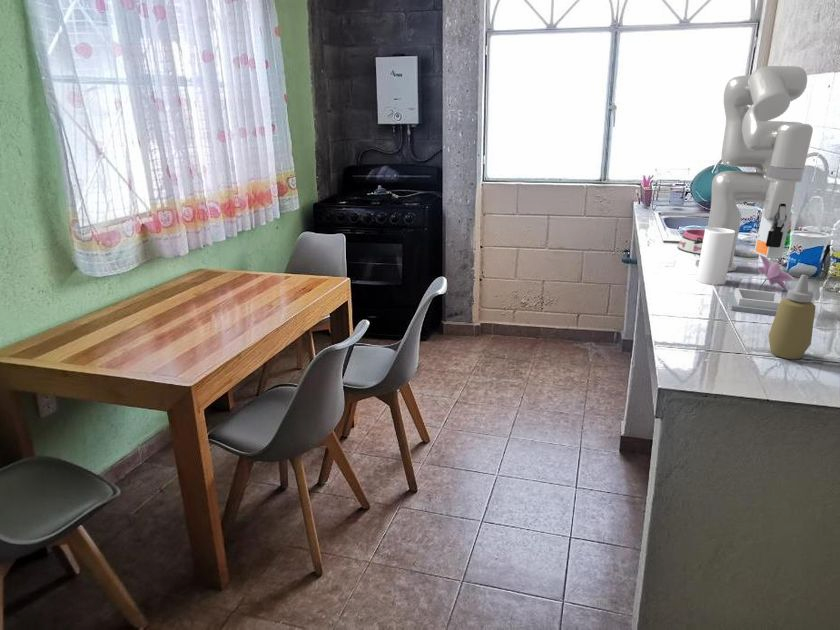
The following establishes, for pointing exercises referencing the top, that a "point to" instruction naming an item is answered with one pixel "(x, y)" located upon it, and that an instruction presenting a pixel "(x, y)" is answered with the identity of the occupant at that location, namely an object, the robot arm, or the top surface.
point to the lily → (774, 273)
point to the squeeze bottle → (793, 322)
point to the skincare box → (763, 234)
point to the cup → (715, 255)
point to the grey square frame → (754, 301)
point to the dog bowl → (692, 241)
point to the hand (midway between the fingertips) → (770, 243)
